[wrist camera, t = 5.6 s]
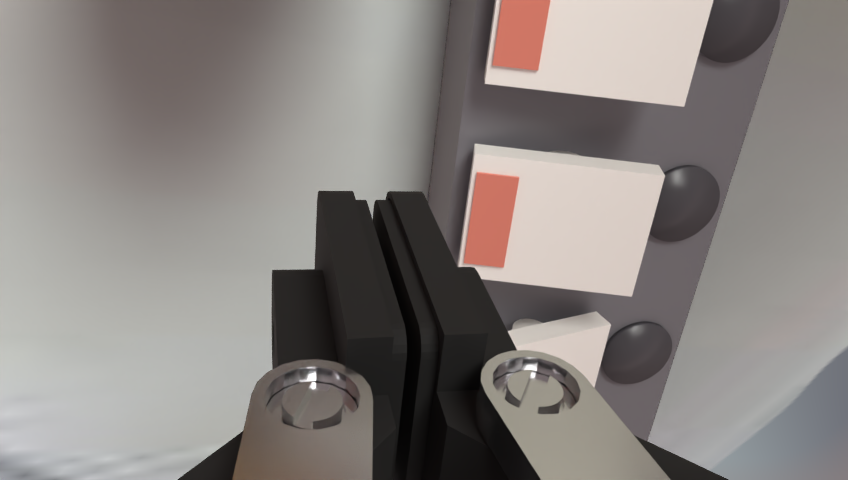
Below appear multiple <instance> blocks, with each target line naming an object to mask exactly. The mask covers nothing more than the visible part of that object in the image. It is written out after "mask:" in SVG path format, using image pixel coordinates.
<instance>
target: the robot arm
mask: <svg viewBox="0 0 848 480" xmlns="http://www.w3.org/2000/svg"><path fill="white" fill-rule="evenodd" d="M272 363H273V370H271V371H269V372H267V373H266V374H265V375H264V376H263V377H262V378H261V379H260V380H259V381H258V382H257V384H256V386H255V388H254V390H253V392H252V395H251V399H250V404H249V408H248V413H247V417H246V421H245V426H244V430H243V432H241V433H240V434H239V435H237V436H236V437H235V438H233V439H232V440H230V441H229V442H228V443H226V444H225V445H224V446H222V447H221V448H220V449H218V450H217V451H216V452H214V453H213V454H212V455H210V456H209V457H207V458H206V459H205V460H203V461H202V462H201V463H199V464H198V465H197V466H195V467H194V468H193V469H191V470H190V471H189V472H187V473H186V474H184V475H183V476H182V477H180V478H179V479H178V480H728V479H726V478H724V477H722V476H720V475H717V474H715V473H713V472H711V471H709V470H707V469H705V468H703V467H700V466H698V465H696V464H694V463H692V462H690V461H688V460H686V459H683V458H681V457H679V456H677V455H675V454H673V453H671V452H669V451H667V450H664V449H662V448H660V447H658V446H656V445H654V444H652V443H650V442H647V441H645V440H643V439H641V438H639V437H637V436H635V435H633V434H632V433H631V431H630V430H629V429H628V428H627V427H626V425H625V424H624V423H623V422H622V421H621V419H620V418H619V417H618V416H617V415H616V413H615V412H614V411H613V410H612V408H611V407H610V406H609V405H608V404H607V402H606V401H605V400H604V399H603V398H602V396H601V395H600V394H599V393H598V392H597V390H596V389H595V388H594V387H593V386H592V384H591V383H590V382H589V381H588V380H587V378H586V377H585V376H584V375H583V374H582V373H581V372H580V371H579V370H577V369H576V368H575V367H574V366H573V365H571V364H569V363H567V362H566V361H564V360H562V359H560V358H558V357H555V356H552V355H549V354H546V353H543V352H537V351H530V350H517V349H516V347H515V345H514V343H513V341H512V339H511V337H510V335H509V333H508V331H507V329H506V327H505V325H504V323H503V321H502V319H501V317H500V315H499V313H498V311H497V309H496V307H495V305H494V303H493V301H492V299H491V297H490V295H489V293H488V291H487V289H486V287H485V285H484V283H483V281H482V279H481V277H480V275H479V273H478V272H477V270H476V269H475V268H474V267H457V265H456V263H455V260H454V258H453V256H452V254H451V252H450V250H449V248H448V245H447V243H446V241H445V239H444V237H443V235H442V233H441V230H440V228H439V226H438V224H437V222H436V220H435V217H434V215H433V213H432V211H431V209H430V207H429V205H428V202H427V200H426V198H425V196H424V194H423V193H422V192H396V191H390V192H388V193H387V196H386V200H376V201H375V204H374V211H373V220H372V217H371V214H370V210H369V207H368V204H367V201H366V200H356V199H355V196H354V193H353V191H319V192H318V198H317V221H316V249H315V269H312V270H272Z"/></svg>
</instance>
